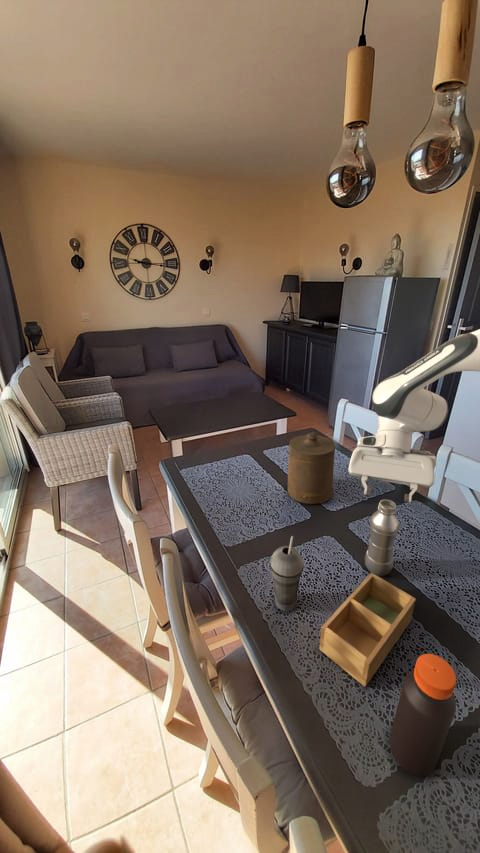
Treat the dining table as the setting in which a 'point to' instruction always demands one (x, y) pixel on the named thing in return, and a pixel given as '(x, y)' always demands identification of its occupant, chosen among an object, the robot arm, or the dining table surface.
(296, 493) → the wooden container
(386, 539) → the silver metal bottle
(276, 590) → the beverage cup
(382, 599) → the divided wooden box
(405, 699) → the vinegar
